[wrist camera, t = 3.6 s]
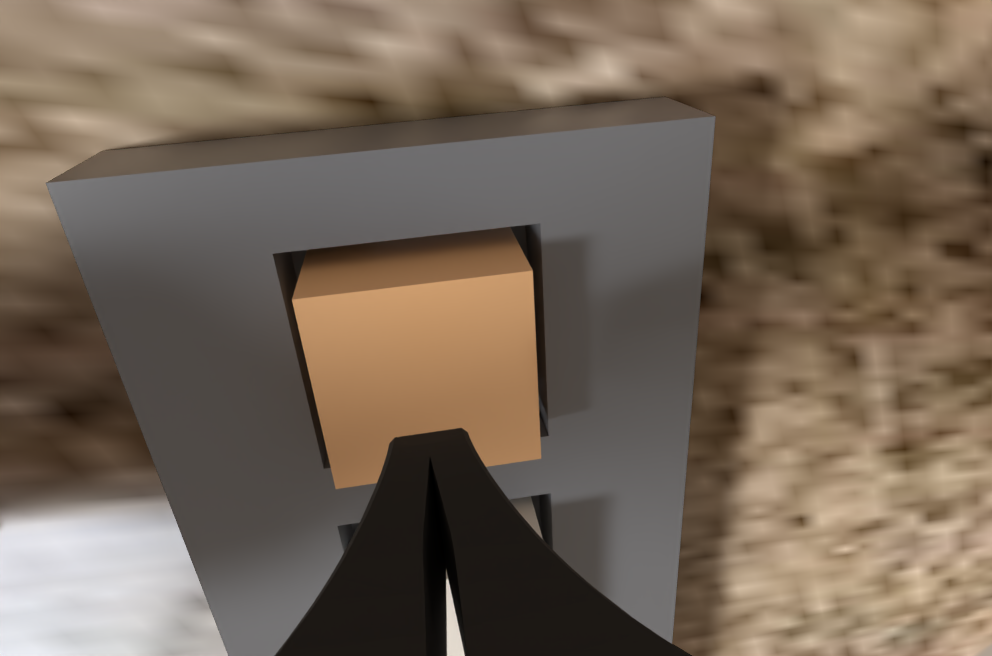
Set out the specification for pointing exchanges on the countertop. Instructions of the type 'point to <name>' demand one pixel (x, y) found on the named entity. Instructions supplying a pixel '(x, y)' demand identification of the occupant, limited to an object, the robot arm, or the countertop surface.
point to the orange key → (420, 346)
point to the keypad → (391, 216)
